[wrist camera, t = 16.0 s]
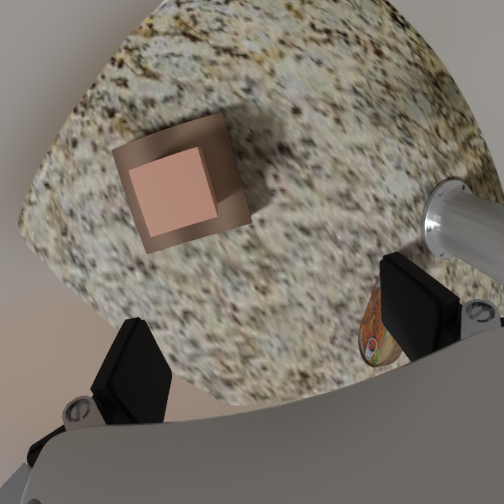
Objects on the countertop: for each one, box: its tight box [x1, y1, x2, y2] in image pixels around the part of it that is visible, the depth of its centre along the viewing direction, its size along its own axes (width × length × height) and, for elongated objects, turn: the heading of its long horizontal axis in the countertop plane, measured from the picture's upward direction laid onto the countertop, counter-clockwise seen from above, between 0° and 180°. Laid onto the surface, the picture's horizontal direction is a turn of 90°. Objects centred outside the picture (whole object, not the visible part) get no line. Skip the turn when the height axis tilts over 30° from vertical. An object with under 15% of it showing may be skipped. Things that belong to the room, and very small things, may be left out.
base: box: [112, 112, 252, 254], centre depth 29 cm, size 12×12×3 cm
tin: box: [358, 275, 402, 367], centre depth 36 cm, size 15×3×8 cm, turn 171°
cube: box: [129, 147, 218, 237], centre depth 25 cm, size 6×6×6 cm
